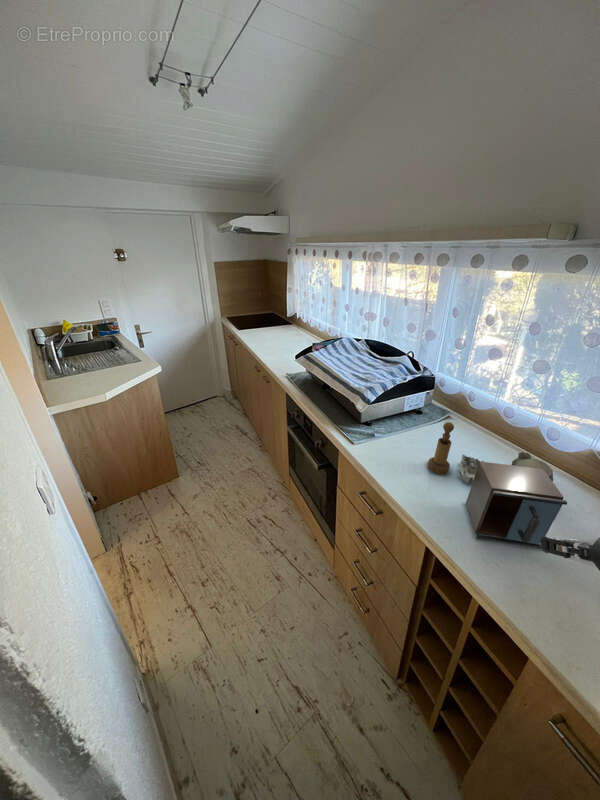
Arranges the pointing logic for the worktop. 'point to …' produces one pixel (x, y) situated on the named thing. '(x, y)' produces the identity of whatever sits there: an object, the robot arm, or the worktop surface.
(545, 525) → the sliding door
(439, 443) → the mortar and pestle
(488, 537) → the cupboard
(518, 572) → the worktop surface
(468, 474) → the grey lumpy piece
